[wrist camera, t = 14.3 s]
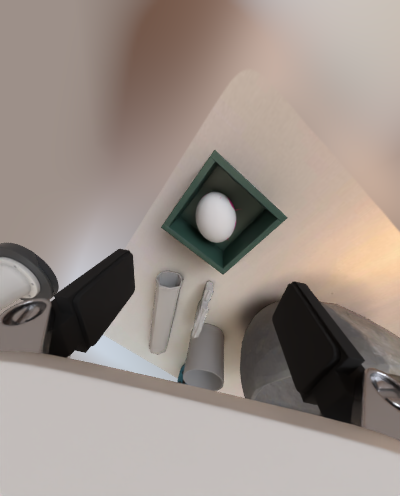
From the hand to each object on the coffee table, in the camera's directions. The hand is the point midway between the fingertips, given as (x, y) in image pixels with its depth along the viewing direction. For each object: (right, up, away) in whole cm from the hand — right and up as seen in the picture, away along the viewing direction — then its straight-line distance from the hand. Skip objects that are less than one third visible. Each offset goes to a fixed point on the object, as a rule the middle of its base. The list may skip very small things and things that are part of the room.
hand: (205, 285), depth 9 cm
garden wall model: (+1, -10, +26) cm, 28 cm away
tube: (-9, -14, +29) cm, 33 cm away
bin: (+3, +8, +16) cm, 19 cm away
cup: (+2, -20, +31) cm, 37 cm away
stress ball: (+3, +8, +16) cm, 18 cm away
